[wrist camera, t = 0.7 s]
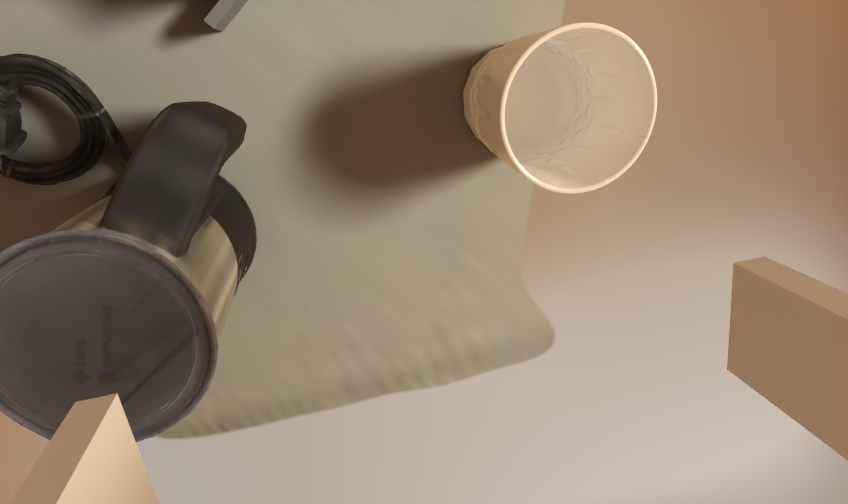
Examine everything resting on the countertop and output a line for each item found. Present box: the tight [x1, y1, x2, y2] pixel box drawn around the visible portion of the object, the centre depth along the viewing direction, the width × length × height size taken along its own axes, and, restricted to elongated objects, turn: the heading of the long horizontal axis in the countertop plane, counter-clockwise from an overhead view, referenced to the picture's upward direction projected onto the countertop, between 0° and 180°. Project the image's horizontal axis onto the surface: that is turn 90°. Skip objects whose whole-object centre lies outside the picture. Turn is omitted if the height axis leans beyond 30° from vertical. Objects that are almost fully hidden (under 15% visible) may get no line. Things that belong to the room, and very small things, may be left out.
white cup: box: [463, 23, 657, 194], centre depth 32 cm, size 8×8×10 cm
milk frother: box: [0, 54, 257, 442], centre depth 27 cm, size 14×16×15 cm
